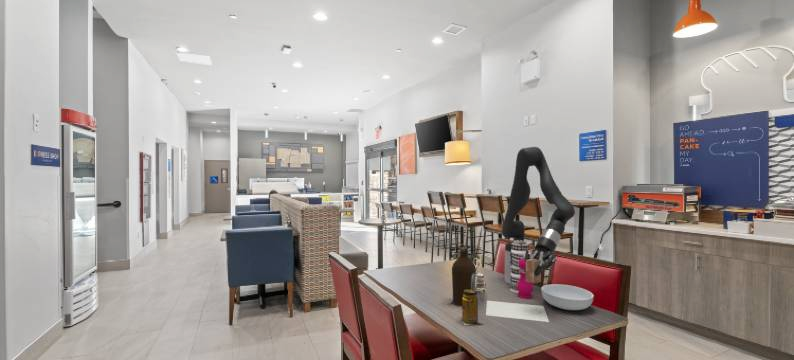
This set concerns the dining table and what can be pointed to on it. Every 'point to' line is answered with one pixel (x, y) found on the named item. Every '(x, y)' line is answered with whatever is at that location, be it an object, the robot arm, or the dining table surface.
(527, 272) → the walnut block
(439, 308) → the dining table surface
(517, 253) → the decorative candle
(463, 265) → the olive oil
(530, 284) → the pepper mill
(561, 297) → the serving bowl
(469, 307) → the condiment
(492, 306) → the rubber mat
